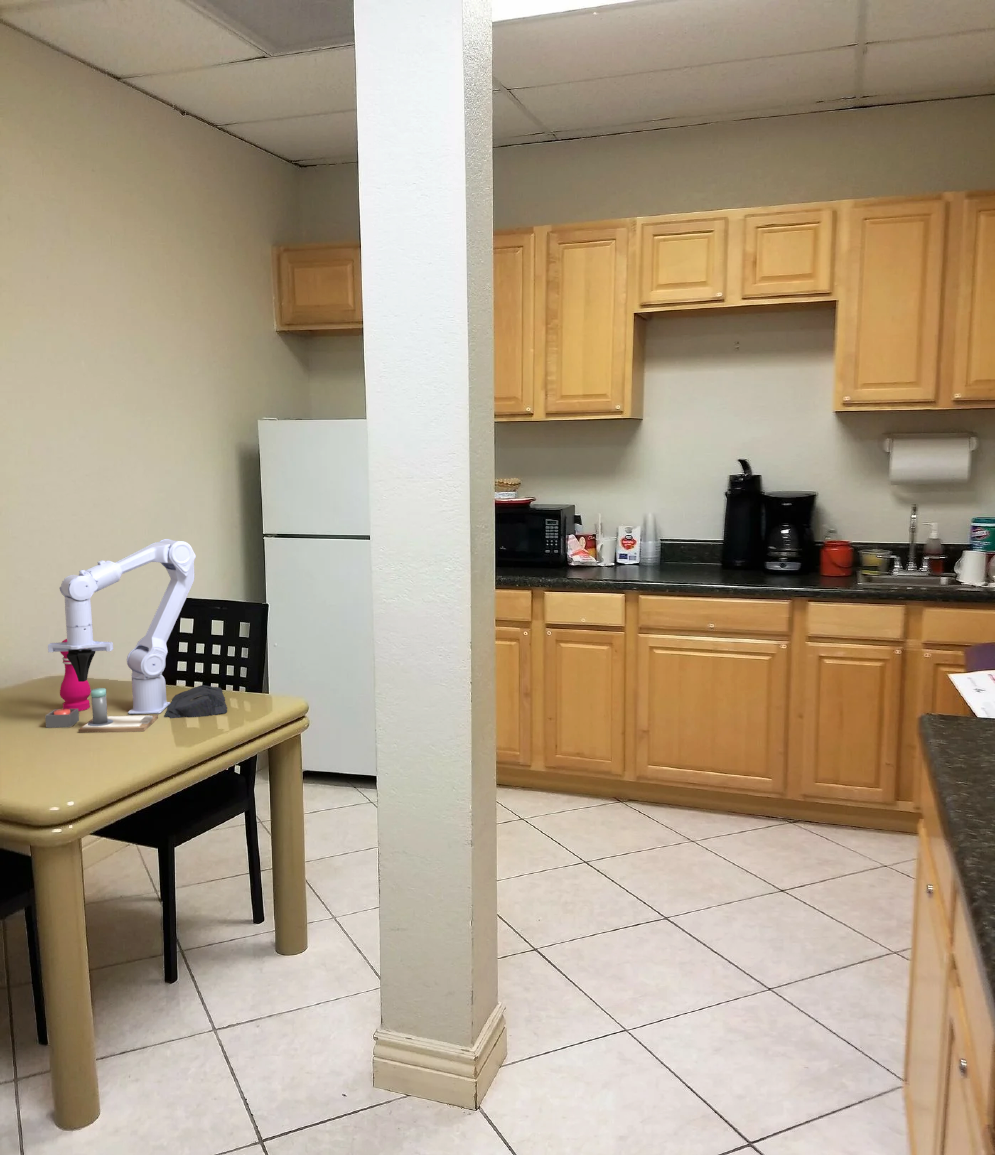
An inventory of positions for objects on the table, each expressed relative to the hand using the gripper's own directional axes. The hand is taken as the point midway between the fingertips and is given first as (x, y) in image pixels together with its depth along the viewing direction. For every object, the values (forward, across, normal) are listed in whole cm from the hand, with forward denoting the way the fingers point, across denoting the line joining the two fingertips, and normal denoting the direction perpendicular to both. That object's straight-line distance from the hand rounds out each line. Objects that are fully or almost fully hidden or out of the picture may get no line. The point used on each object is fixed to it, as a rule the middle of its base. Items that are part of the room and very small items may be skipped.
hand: (82, 680), depth 225 cm
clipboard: (+10, +9, -3) cm, 14 cm away
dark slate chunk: (+11, +24, +13) cm, 29 cm away
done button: (+9, -5, -1) cm, 10 cm away
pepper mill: (+11, -7, +13) cm, 18 cm away
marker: (+9, +5, -4) cm, 11 cm away
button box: (+10, -5, -1) cm, 12 cm away
